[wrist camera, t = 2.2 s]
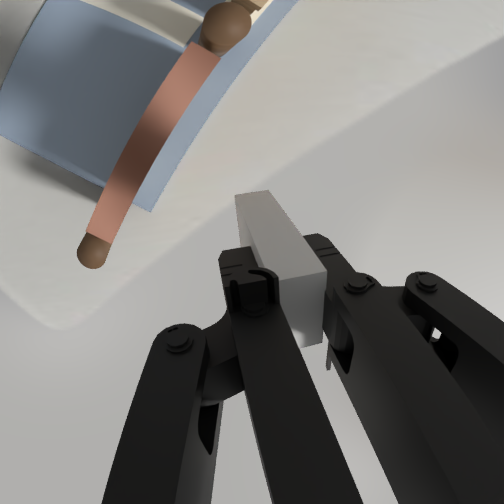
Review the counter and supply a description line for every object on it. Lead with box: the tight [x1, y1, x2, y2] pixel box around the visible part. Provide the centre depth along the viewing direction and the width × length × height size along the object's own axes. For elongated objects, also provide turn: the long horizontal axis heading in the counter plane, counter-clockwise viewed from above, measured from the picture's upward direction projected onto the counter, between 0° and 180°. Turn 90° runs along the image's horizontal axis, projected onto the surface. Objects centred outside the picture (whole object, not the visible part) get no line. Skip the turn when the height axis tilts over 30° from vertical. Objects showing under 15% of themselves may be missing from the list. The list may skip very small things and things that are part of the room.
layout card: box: [0, 0, 298, 212], centre depth 14 cm, size 24×15×1 cm, turn 145°
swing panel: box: [77, 41, 221, 269], centre depth 15 cm, size 12×2×7 cm, turn 145°
